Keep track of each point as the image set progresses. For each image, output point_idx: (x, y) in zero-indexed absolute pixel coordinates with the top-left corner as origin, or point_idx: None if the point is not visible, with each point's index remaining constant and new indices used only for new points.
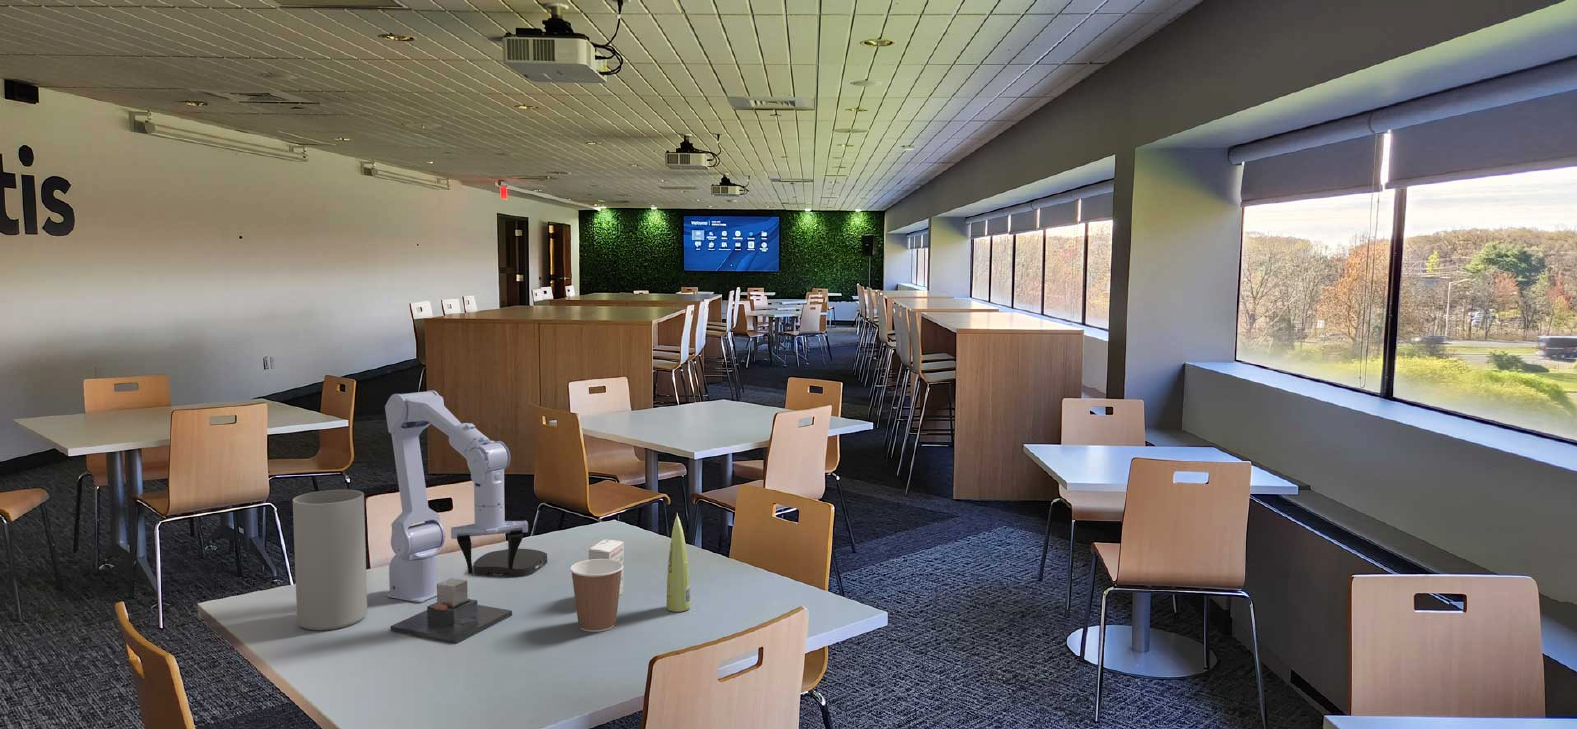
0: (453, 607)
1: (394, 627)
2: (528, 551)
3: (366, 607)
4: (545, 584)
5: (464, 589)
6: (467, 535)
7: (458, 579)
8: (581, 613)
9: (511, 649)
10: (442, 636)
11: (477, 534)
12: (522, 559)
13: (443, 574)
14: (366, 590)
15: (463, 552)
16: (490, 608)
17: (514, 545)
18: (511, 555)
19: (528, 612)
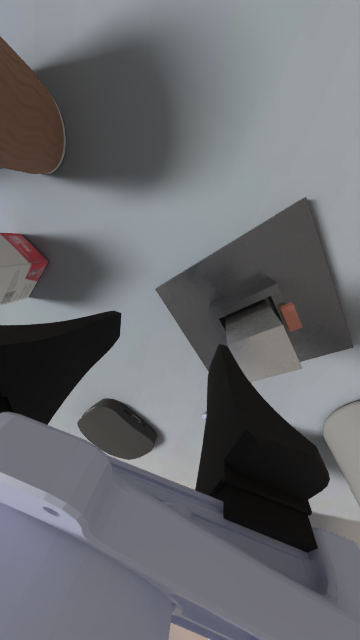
0: (266, 304)
1: (350, 339)
2: (93, 438)
3: (342, 422)
4: (94, 365)
5: (235, 331)
6: (239, 521)
7: (240, 363)
8: (23, 73)
9: (222, 68)
10: (317, 234)
11: (170, 495)
12: (102, 426)
13: (184, 451)
14: (357, 454)
15: (267, 404)
16: (181, 319)
17: (34, 332)
18: (84, 323)
19: (133, 284)
